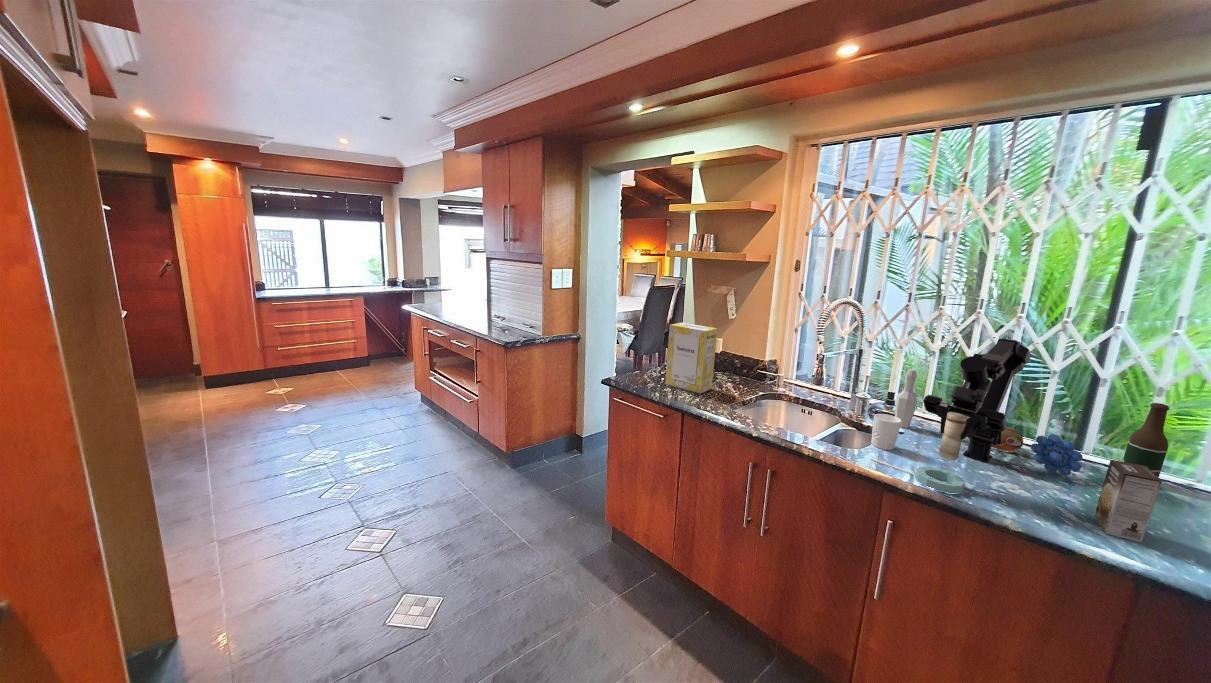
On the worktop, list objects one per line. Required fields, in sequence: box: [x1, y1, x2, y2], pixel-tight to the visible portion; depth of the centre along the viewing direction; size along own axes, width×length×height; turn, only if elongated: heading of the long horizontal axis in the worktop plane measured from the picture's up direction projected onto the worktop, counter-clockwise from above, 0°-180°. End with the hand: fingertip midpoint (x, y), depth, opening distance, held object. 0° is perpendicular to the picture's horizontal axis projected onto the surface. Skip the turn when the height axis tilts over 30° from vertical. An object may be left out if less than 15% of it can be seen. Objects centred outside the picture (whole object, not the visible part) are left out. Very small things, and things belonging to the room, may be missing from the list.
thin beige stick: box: [871, 457, 916, 476], centre depth 139 cm, size 1×12×1 cm, turn 39°
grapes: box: [1030, 434, 1084, 477], centre depth 139 cm, size 12×7×12 cm, turn 44°
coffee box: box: [1093, 459, 1163, 543], centre depth 110 cm, size 9×6×16 cm
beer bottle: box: [1122, 402, 1170, 478], centre depth 136 cm, size 8×8×24 cm
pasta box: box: [665, 322, 718, 395], centre depth 208 cm, size 18×10×28 cm, turn 50°
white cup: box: [870, 413, 901, 451], centre depth 154 cm, size 8×8×10 cm
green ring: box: [914, 466, 966, 494], centre depth 130 cm, size 11×11×2 cm
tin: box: [967, 426, 1024, 453], centre depth 157 cm, size 15×3×8 cm, turn 41°
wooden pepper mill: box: [938, 412, 968, 461], centre depth 130 cm, size 4×4×12 cm
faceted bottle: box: [894, 368, 918, 429], centre depth 172 cm, size 6×6×22 cm
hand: (951, 435), depth 129 cm, fingers closed on wooden pepper mill, 4 cm apart
